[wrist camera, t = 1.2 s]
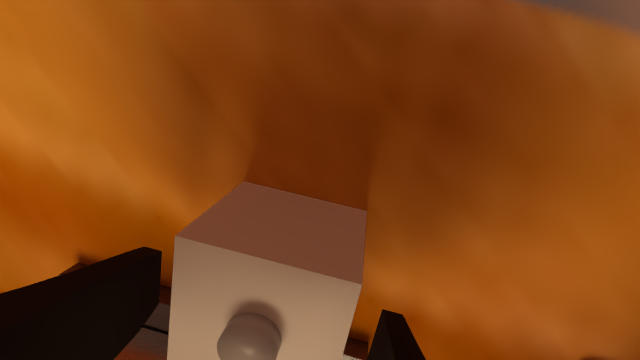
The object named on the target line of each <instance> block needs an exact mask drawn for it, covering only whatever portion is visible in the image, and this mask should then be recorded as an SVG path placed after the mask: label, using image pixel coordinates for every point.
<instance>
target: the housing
mask: <svg viewBox="0 0 640 360" xmlns="http://www.w3.org/2000/svg"><path fill="white" fill-rule="evenodd" d="M366 216H367V211H365V210H361V209H357V208H353V207H349V206H345V205H340V204H336V203H332V202H328V201H324V200H320V199H316V198H312V197H307V196H303V195H299V194H295V193H291V192H287V191H283V190H278V189H274V188H270V187H266V186H262V185H258V184H254V183H249V182H245V181H244V182H242V183H241V184H240V185H239V186H237V187H236V188H235V189H233V190H232V191H231V192H230V193H228V194H227V195H226V196H225V197H223V198H222V199H221V200H220V201H218V202H217V203H216V204H214V205H213V206H212V207H211V208H209V209H208V210H207V211H206V212H204V213H203V214H202V215H201V216H199V217H198V218H197V219H196V220H194V221H193V222H192V223H190V224H189V225H188V226H187V227H185V228H184V229H183V230H182V231H180V232H179V233H178V234H177V235H175V244H174V260H173V275H172V290H171V306H170V321H169V337H168V352H167V360H341V359H342V356H343V352H344V348H345V345H346V341H347V338H348V334H349V330H350V327H351V323H352V319H353V316H354V312H355V309H356V305H357V301H358V298H359V294H360V291H361V287H362V279H363V263H364V247H365V232H366Z"/></svg>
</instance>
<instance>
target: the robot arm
mask: <svg viewBox="0 0 640 360" xmlns="http://www.w3.org/2000/svg"><path fill="white" fill-rule="evenodd" d="M161 256H162V251H159V250H155V249H151V248H147V247H141V248H138V249H135V250H132V251H129V252H126V253H123V254H120V255H117V256H114V257H111V258H109V259H106V260H103V261H100V262H97V263H95V264H92V265H89V266H86V267H83V268H80V269H78V270H75V271H72V272H69V273H66V274H63V275H60V276H57V277H53V278H50V279H47V280H44V281H41V282H38V283H35V284H32V285H29V286H25V287H22V288H18V289H15V290H11V291H8V292H4V293H0V360H114V359H115V358H116V357H117V356H118V354H119V353H120V352H121V351H122V350H123V349H124V348H125V347H126V346H127V345H128V343H129V342H130V341H131V340H132V339H133V338H134V337H135V336H136V334H137V333H138V332H139V331H140V330H141V328H142V327H143V326H144V324H145V323H146V322H147V320H148V319H149V317H150V316H151V314H152V313H153V312H154V310H155V309H156V307H157V306H158V304H159V296H160V276H161ZM367 360H426V359H425V357H424V355H423V354H422V352H421V350H420V348H419V346H418V344H417V342H416V340H415V338H414V336H413V334H412V332H411V330H410V328H409V326H408V324H407V322H406V320H405V318H404V316H403V315H402V314H398V313H395V312H391V311H387V310H383V309H382V312H381V316H380V319H379V322H378V325H377V329H376V332H375V335H374V338H373V342H372V345H371V348H370V351H369V355H368V358H367Z"/></svg>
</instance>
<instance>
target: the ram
mask: <svg viewBox="0 0 640 360" xmlns="http://www.w3.org/2000/svg"><path fill="white" fill-rule="evenodd" d="M168 337H169V335H166V334H163V333H159V332H156V331H153V330H149V329H146V328H141V330H140V331H139V332H138V333H137V334H136V336H135V337H134V338H133V339H132V340H131V341H130V342H129V343H128V345H127V346H126V347H125V348H124V349H123V350H122V351H121V352H120V353H119V354H118V356H117V357H116V358H115V359H114V360H167V352H168Z"/></svg>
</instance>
